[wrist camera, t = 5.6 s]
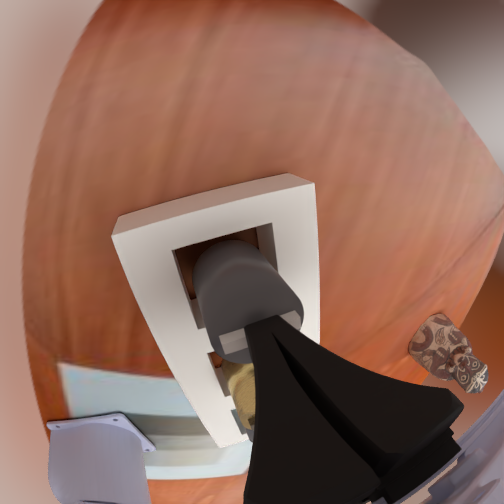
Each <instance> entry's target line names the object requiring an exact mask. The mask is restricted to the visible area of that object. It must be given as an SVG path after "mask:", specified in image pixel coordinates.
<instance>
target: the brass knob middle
mask: <svg viewBox="0 0 504 504" xmlns="http://www.w3.org/2000/svg"><path fill="white" fill-rule="evenodd" d="M221 368H222V372H223V374H224V377H225V380H226V383H227V386H228V388H229V391H230V394H231V397H232V399H233V402H234V405H235V407H236V410H237V413H238V415H239V418H240V420H241V423H242V425H243V426H244V427H245V428H247V429H250V430H254V423H255V377H254V366H253V363H249V364H240V363H233V362H230V361H227V360H225V359H223V360H222V363H221Z"/></svg>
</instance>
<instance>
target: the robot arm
mask: <svg viewBox="0 0 504 504" xmlns="http://www.w3.org/2000/svg"><path fill="white" fill-rule="evenodd" d="M244 332H245V336H246V340H247V345H248V349H249V353H250V357H251V360H252V363H253V366H254V377H255V423H254V436H253V445H252V452H251V459H250V466H249V471H248V476H247V481H246V485H245V490H244V502H243V504H366V503H367V502H369V501H371V503H372V504H400V503H402V502H403V501H405V500H406V499H408V498H409V497H410V496H412V495H413V494H415V493H416V492H417V491H419V490H420V489H421V488H422V487H424V486H425V485H427V484H428V483H429V482H430V481H432V480H433V479H434V478H435V477H436V476H437V475H439V474H440V473H441V472H442V471H444V470H445V469H446V468H447V467H448V466H449V465H450V464H452V463H453V462H454V461H455V460H456V459H457V458H458V459H457V461H458V462H457V465H456V466H454V467H453V468H452V469H451V470H450V471H448V472H447V473H446V474H444V475H443V476H442V477H441V478H440V479H438V480H437V481H436V482H435V483H434V484H433V485H432V486H431V487H429V488H428V491H429V493H430V494H431V496H429V497H428V498H427V499H425V500H424V501H423V502H421V503H420V504H504V390H503V391H502V392H501V394H500V395H499V396H498V397H497V398H496V400H495V401H494V402H493V403H492V404H491V405H490V407H489V408H488V409H487V410H486V411H485V412H484V413H483V415H481V416H480V418H479V419H478V420H477V421H476V422H475V423H474V424H473V425H472V426H471V427H470V428H469V429H468V430H467V431H466V432H465V433H464V434H463V435H462V436H461V437H460V438H459V439H458V440H457V441H456V442H455V440H454V439H453V438H452V437H451V436H452V435H453V434H454V433H453V431H452V430H451V429H450V428H449V427H450V426H451V425H452V423H453V422H454V421H455V419H456V418H457V417H458V416H459V415H460V413H461V412H462V410H463V409H464V405H463V403H462V402H461V401H460V400H459V399H458V398H457V397H456V396H455V395H454V394H453V393H452V392H451V391H450V390H449V389H446V388H438V387H430V386H423V385H417V384H413V383H408V382H404V381H400V380H397V379H394V378H390V377H387V376H384V375H381V374H378V373H375V372H372V371H370V370H367V369H365V368H362V367H360V366H358V365H356V364H353V363H351V362H349V361H347V360H345V359H343V358H341V357H340V356H338V355H336V354H334V353H332V352H331V351H329V350H327V349H326V348H324V347H322V346H321V345H319V344H318V343H316V342H314V341H313V340H311V339H310V338H308V337H307V336H305V335H304V334H303V333H301V332H300V331H299V330H297V329H296V328H294V327H293V326H292V325H291V324H289V323H288V322H287V321H285V320H284V319H283V318H282V317H281V316H279V315H274V316H271V317H268V318H265V319H262V320H259V321H257V322H254V323H251V324H248V325H246V326H245V327H244ZM47 427H48V428H49V429H50V430H51V436H50V447H49V463H48V479H49V483H50V487H51V489H52V492H53V494H54V495H55V497H56V498H57V500H58V501H59V502H60V503H62V504H152V503H151V499H150V494H149V488H148V483H147V477H146V471H145V465H144V458H143V453H145V452H151V451H155V450H156V447H155V446H154V445H153V444H152V443H151V442H150V441H149V440H148V439H147V438H146V437H145V436H144V435H143V434H142V433H141V432H140V431H139V430H138V429H137V428H136V427H135V426H134V425H133V424H132V423H131V422H130V421H129V420H128V418H127V417H126V416H125V415H123V414H121V413H117V414H111V415H104V416H98V417H90V418H83V419H74V420H64V421H53V422H47Z"/></svg>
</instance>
